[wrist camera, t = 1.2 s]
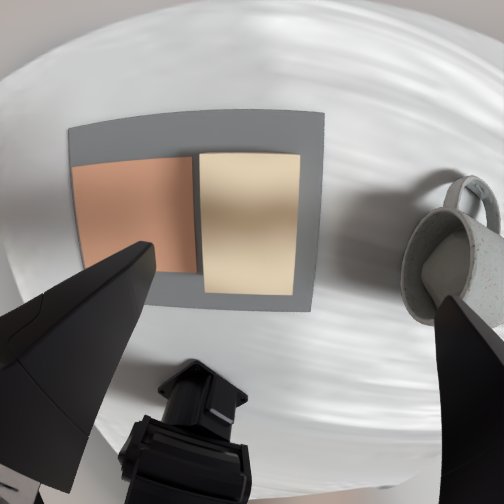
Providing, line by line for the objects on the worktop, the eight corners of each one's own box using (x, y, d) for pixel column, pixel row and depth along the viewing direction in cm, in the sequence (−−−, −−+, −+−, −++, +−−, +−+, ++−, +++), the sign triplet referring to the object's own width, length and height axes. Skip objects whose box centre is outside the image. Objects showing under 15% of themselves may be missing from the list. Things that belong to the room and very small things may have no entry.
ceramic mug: (457, 305, 21) (503, 354, 14) (387, 289, 21) (431, 348, 14) (498, 193, 18) (561, 217, 11) (432, 156, 18) (501, 168, 10)
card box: (289, 278, 21) (292, 295, 18) (211, 276, 21) (205, 292, 19) (295, 153, 18) (300, 155, 15) (207, 152, 18) (199, 154, 16)
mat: (309, 309, 22) (310, 312, 21) (93, 296, 23) (90, 299, 22) (323, 113, 17) (324, 112, 16) (71, 128, 18) (68, 128, 17)
